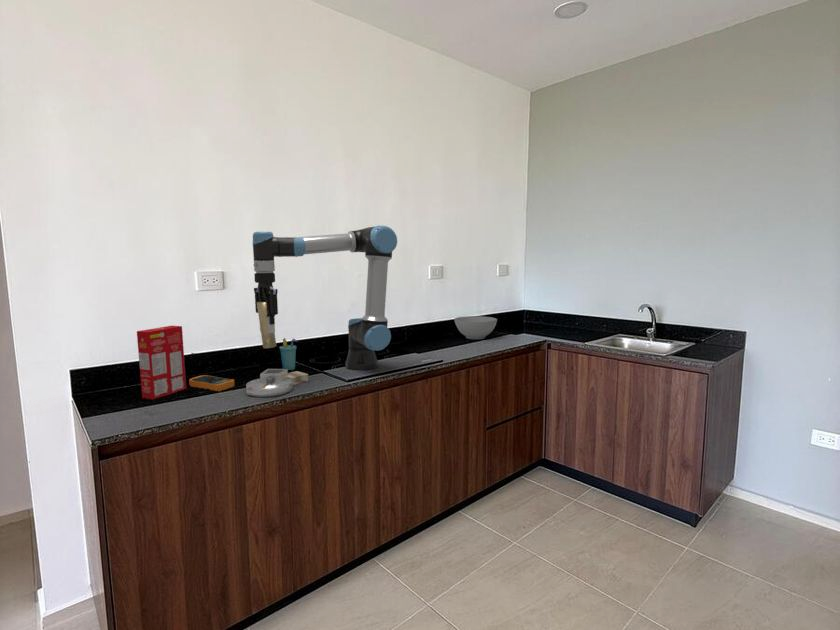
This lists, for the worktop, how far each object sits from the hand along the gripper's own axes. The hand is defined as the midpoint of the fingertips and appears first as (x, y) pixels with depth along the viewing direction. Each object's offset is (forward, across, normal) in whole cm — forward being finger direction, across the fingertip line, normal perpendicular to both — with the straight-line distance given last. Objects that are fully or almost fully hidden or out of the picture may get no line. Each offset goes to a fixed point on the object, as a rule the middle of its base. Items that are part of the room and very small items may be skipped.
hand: (267, 331), depth 180 cm
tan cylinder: (+6, 0, +1) cm, 6 cm away
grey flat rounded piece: (+22, +5, -3) cm, 23 cm away
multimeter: (+23, -19, -15) cm, 33 cm away
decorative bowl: (+23, -2, +145) cm, 147 cm away
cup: (+23, -19, +21) cm, 36 cm away
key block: (+22, 0, +11) cm, 25 cm away
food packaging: (+22, -23, -31) cm, 44 cm away
